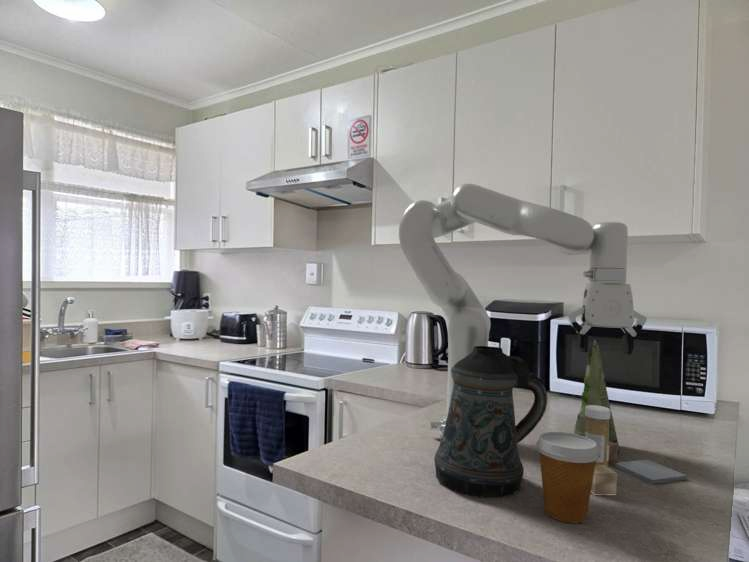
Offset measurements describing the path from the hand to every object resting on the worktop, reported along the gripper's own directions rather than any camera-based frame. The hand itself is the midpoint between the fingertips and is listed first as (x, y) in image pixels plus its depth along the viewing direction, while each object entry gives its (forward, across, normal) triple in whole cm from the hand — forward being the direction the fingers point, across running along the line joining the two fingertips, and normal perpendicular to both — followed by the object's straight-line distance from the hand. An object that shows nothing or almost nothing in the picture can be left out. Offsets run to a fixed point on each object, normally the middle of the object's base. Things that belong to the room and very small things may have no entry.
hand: (605, 352), depth 109 cm
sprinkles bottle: (+23, -7, -14) cm, 28 cm away
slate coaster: (+23, +5, -11) cm, 26 cm away
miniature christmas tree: (+23, 0, +4) cm, 23 cm away
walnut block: (+23, -2, -5) cm, 23 cm away
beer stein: (+23, -30, -19) cm, 42 cm away
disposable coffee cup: (+23, -19, -32) cm, 44 cm away
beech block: (+23, -9, -21) cm, 33 cm away
